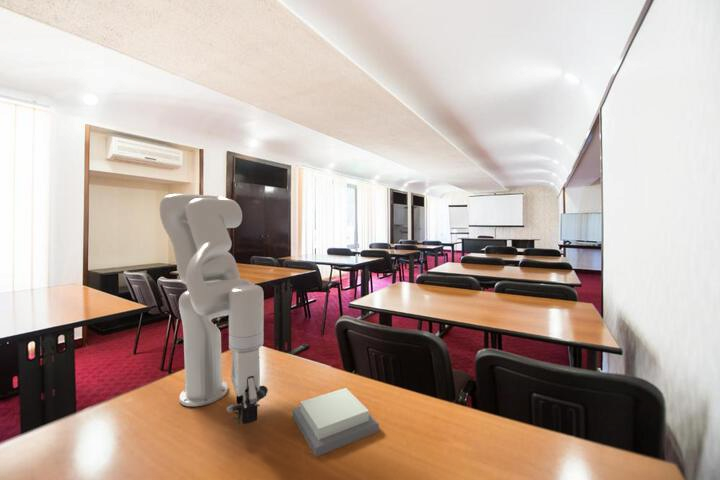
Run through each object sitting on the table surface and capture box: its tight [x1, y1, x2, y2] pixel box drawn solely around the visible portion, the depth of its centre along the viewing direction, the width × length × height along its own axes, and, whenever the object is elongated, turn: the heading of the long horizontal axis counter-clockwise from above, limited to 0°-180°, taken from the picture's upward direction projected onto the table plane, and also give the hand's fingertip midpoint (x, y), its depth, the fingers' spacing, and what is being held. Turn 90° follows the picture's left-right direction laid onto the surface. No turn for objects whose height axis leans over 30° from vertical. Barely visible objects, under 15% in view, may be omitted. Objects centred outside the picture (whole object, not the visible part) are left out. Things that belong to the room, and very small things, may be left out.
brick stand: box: [291, 387, 380, 458], centre depth 75 cm, size 16×16×5 cm
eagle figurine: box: [226, 385, 269, 428], centre depth 73 cm, size 8×7×9 cm
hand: (246, 411), depth 71 cm, fingers closed on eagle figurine, 7 cm apart
